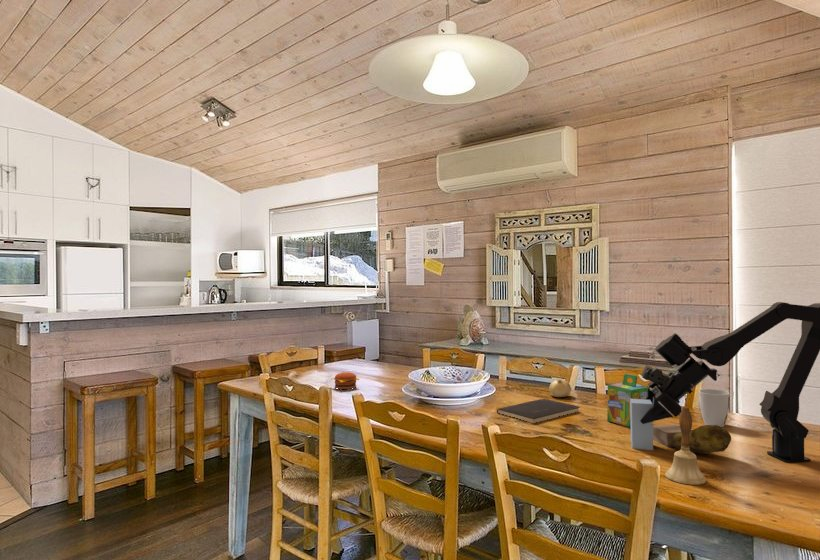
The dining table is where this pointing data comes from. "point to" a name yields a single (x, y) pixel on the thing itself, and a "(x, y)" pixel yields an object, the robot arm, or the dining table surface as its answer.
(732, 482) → the dining table surface
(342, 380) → the hamburger
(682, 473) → the hand bell
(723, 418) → the cup
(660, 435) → the walnut box
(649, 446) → the slate block
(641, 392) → the chalk box
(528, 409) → the hardcover book
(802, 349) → the robot arm
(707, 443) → the potato
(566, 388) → the onion
